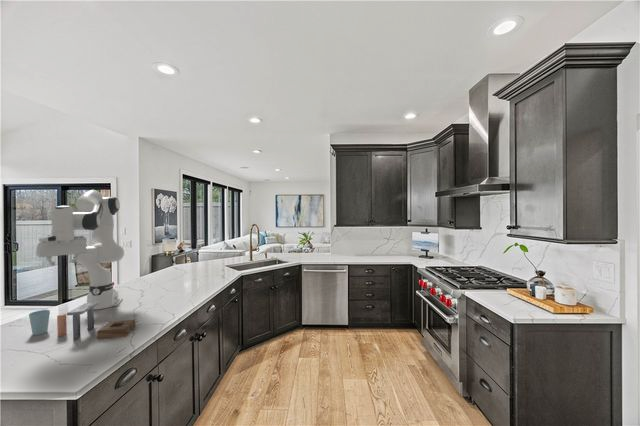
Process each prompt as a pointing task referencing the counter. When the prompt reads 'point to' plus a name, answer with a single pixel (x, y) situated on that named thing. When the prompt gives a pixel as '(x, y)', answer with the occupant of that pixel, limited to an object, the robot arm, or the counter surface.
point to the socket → (116, 329)
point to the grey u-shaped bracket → (76, 318)
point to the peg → (61, 325)
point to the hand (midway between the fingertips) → (63, 264)
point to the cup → (39, 321)
